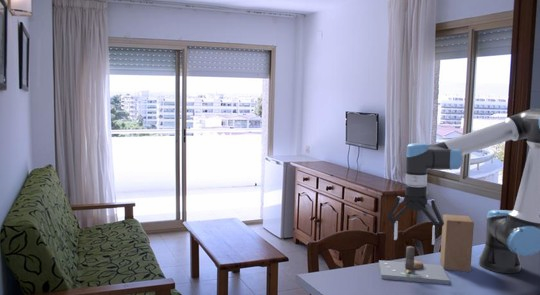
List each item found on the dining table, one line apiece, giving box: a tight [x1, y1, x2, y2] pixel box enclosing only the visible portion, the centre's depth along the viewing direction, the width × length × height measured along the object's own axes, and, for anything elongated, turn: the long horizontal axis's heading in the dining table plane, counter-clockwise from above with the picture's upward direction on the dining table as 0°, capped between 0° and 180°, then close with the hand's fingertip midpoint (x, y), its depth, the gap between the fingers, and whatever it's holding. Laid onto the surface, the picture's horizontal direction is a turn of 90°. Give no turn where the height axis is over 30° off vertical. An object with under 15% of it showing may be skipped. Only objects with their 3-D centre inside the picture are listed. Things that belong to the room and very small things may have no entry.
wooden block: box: [439, 213, 475, 272], centre depth 189 cm, size 10×10×20 cm
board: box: [378, 259, 451, 285], centre depth 181 cm, size 24×16×2 cm, turn 80°
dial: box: [404, 245, 424, 274], centre depth 181 cm, size 15×7×9 cm, turn 150°
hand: (414, 241), depth 177 cm, fingers open, 13 cm apart
